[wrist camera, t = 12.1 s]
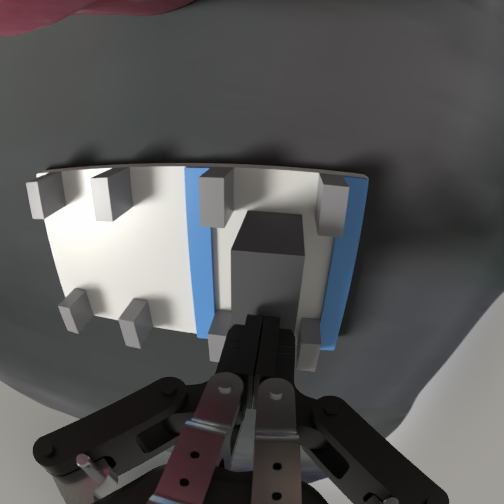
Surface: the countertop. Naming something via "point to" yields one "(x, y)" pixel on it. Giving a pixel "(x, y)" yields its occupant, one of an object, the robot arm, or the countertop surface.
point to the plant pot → (72, 11)
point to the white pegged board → (193, 244)
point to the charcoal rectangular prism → (267, 267)
